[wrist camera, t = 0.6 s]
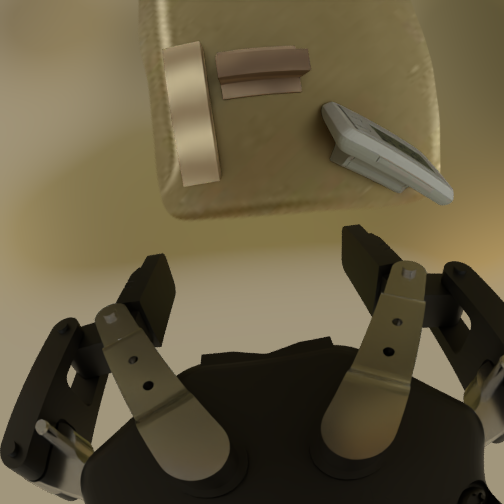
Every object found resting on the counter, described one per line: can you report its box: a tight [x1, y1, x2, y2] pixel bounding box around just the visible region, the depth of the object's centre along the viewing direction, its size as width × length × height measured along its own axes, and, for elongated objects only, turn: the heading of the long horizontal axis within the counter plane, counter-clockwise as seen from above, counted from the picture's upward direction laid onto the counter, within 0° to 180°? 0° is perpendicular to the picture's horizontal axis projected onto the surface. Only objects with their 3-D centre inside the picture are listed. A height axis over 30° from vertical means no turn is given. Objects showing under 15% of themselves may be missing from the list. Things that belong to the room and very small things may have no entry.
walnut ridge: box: [215, 46, 311, 100], centre depth 24 cm, size 6×9×6 cm, turn 97°
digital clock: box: [321, 102, 453, 205], centre depth 26 cm, size 16×9×11 cm, turn 60°
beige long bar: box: [162, 41, 222, 187], centre depth 27 cm, size 16×4×4 cm, turn 7°
